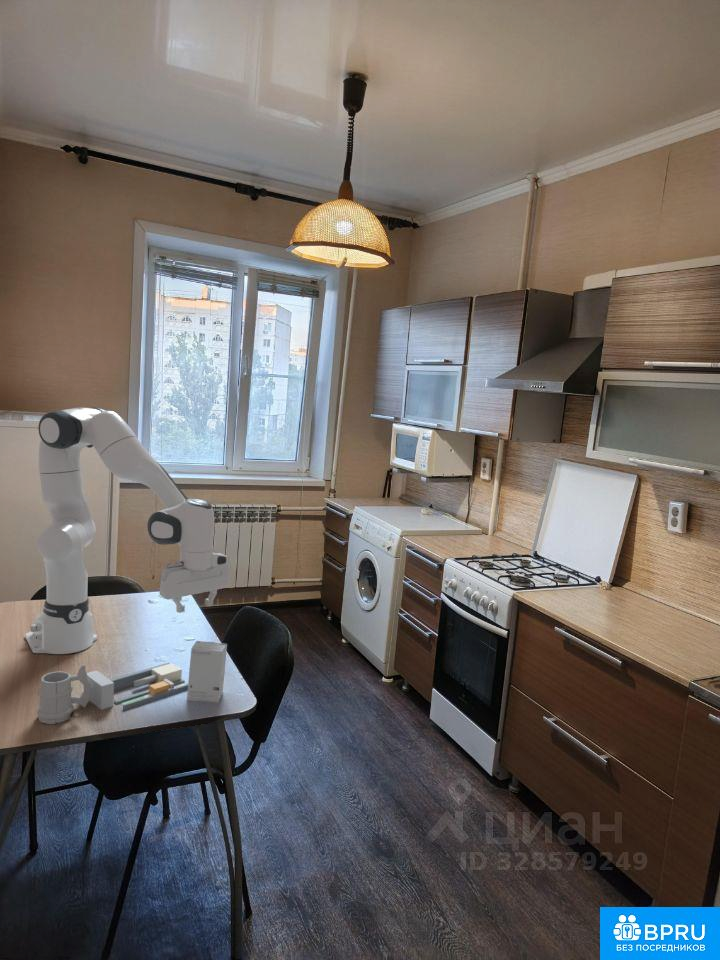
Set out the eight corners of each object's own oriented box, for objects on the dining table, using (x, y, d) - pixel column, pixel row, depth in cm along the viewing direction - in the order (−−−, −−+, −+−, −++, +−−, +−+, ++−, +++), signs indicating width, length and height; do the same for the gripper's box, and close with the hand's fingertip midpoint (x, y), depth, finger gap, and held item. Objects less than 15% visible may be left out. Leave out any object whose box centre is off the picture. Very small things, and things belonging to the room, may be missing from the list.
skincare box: (186, 705, 159) (188, 648, 157) (192, 694, 165) (194, 639, 163) (219, 707, 159) (222, 650, 157) (224, 696, 165) (227, 641, 163)
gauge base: (77, 695, 159) (77, 668, 158) (169, 668, 179) (170, 644, 178) (109, 721, 148) (109, 692, 147) (203, 689, 167) (204, 663, 166)
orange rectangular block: (149, 694, 160) (149, 685, 160) (163, 689, 163) (163, 681, 163) (154, 698, 158) (154, 689, 158) (168, 693, 161) (168, 684, 161)
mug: (35, 712, 150) (36, 664, 148) (89, 703, 156) (90, 657, 154) (38, 727, 143) (38, 677, 142) (94, 717, 149) (95, 669, 148)
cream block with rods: (130, 686, 163) (130, 675, 163) (171, 673, 172) (171, 663, 172) (148, 699, 157) (149, 688, 157) (190, 685, 166) (191, 675, 166)
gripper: (168, 567, 161) (166, 619, 162) (234, 556, 176) (232, 604, 177) (155, 562, 165) (154, 613, 166) (220, 552, 180) (219, 598, 182)
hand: (195, 608), depth 172 cm, fingers open, 8 cm apart
